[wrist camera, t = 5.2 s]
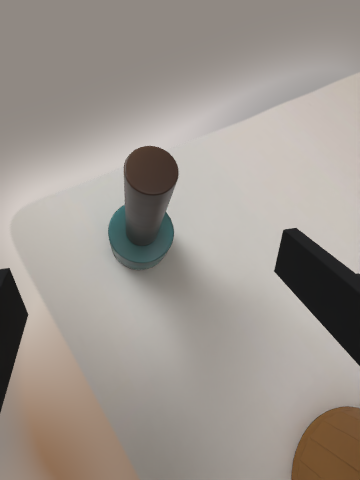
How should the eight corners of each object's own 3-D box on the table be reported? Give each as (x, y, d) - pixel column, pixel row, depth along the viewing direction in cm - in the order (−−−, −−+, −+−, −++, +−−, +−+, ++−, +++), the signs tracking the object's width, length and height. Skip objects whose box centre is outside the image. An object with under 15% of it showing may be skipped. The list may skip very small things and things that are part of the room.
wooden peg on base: (98, 247, 24) (66, 176, 11) (134, 204, 25) (139, 100, 13) (146, 281, 24) (165, 247, 11) (178, 236, 25) (227, 163, 13)
